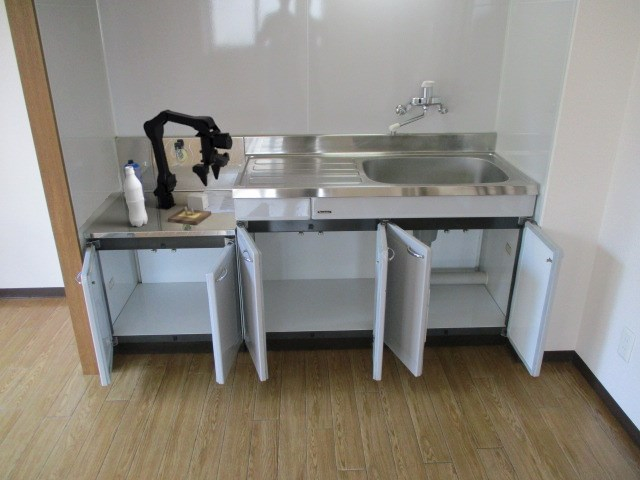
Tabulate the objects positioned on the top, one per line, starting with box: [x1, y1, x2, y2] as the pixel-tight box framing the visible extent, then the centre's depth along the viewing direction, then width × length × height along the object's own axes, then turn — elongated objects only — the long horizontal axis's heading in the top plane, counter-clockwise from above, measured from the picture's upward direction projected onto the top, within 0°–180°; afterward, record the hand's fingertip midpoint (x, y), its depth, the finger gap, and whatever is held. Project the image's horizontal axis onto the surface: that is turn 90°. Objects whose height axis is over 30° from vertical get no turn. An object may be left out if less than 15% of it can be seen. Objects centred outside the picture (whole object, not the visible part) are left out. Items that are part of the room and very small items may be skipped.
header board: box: [167, 205, 212, 226], centre depth 216 cm, size 14×12×5 cm
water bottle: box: [122, 166, 148, 227], centre depth 206 cm, size 7×7×25 cm
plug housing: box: [186, 192, 209, 211], centre depth 227 cm, size 8×4×6 cm, turn 71°
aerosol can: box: [122, 159, 148, 203], centre depth 232 cm, size 8×8×20 cm
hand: (211, 182), depth 218 cm, fingers open, 9 cm apart
